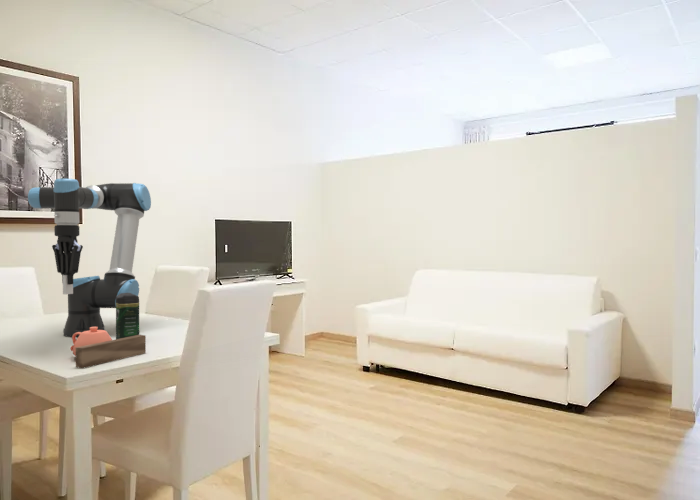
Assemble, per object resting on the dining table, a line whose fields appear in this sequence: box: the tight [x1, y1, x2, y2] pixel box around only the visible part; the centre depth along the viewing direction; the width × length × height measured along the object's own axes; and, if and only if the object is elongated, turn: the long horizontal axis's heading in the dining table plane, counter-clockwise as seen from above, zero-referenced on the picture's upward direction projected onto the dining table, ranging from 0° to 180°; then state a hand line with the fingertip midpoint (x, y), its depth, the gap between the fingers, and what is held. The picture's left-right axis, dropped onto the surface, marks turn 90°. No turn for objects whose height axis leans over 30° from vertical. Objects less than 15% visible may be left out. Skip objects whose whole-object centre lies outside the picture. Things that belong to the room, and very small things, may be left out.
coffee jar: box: [115, 293, 140, 339], centre depth 202 cm, size 10×8×19 cm
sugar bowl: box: [70, 327, 113, 357], centre depth 176 cm, size 12×14×10 cm
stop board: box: [75, 334, 147, 369], centre depth 174 cm, size 3×24×6 cm, turn 153°
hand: (68, 293), depth 183 cm, fingers closed
